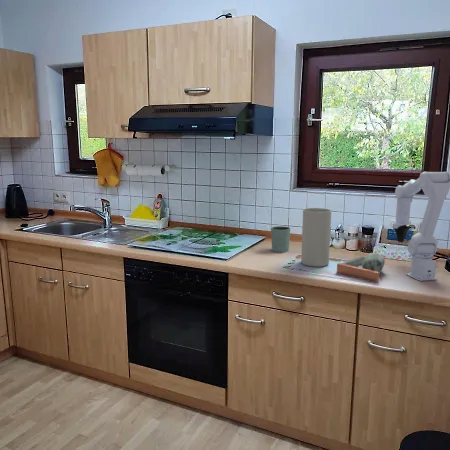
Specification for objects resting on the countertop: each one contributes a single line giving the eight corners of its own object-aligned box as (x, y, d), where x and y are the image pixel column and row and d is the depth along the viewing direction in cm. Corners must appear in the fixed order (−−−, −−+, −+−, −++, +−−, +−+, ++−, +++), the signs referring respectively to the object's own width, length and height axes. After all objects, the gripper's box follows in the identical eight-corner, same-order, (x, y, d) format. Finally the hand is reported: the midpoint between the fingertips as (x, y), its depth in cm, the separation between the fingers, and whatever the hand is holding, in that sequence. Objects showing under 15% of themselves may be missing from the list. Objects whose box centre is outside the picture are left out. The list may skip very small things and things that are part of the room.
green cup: (280, 253, 211) (281, 230, 209) (266, 250, 219) (266, 227, 216) (293, 250, 217) (294, 228, 215) (279, 247, 225) (280, 225, 223)
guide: (361, 262, 195) (362, 254, 194) (401, 271, 181) (402, 262, 181) (334, 272, 180) (335, 263, 179) (376, 282, 166) (377, 273, 166)
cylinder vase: (331, 261, 196) (334, 209, 192) (325, 268, 185) (328, 212, 181) (305, 258, 202) (307, 207, 197) (297, 265, 191) (299, 210, 186)
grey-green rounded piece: (386, 271, 170) (377, 248, 172) (364, 279, 174) (355, 256, 176) (391, 271, 182) (382, 249, 184) (370, 278, 186) (361, 257, 188)
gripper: (401, 209, 197) (398, 238, 199) (387, 213, 187) (384, 242, 189) (416, 211, 191) (413, 240, 194) (402, 215, 182) (400, 245, 184)
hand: (400, 241), depth 191 cm, fingers closed
